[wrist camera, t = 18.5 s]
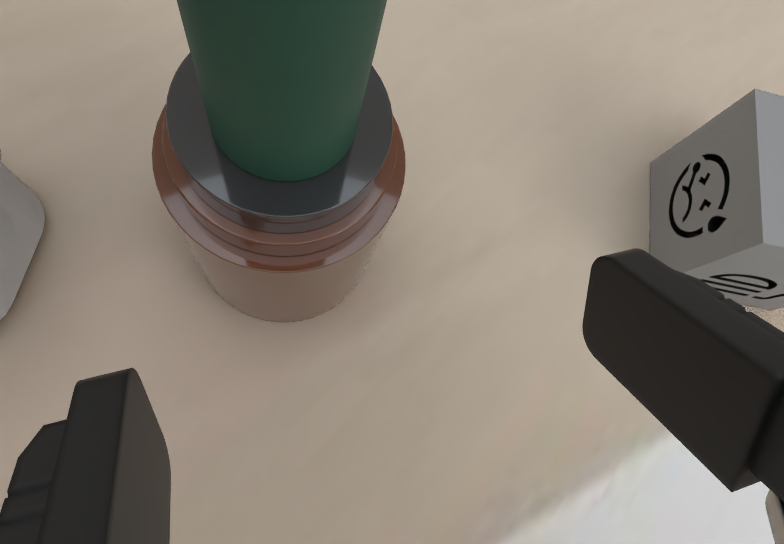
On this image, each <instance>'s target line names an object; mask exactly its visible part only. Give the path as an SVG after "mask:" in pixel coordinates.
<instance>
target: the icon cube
mask: <svg viewBox="0 0 784 544" xmlns="http://www.w3.org/2000/svg"><path fill="white" fill-rule="evenodd" d="M650 255H652V256H653V257H655V258H656V259H658V260H659V261H661V262H662V263H664V264H666V265H667V266H669V267H670V268H672V269H673V270H676V271H679V272H682V273H684V274H687V275H690V276H692V277H695V278H698V279H700V280H702V281H703V282H705V283H706V284H708V285H710V286H711V287H713V288H714V289H716V290H717V291H719V292H721V293H722V294H724V297H725V299H728V298H730V299H732V300H733V301H735V302H736V303H738V304H742V305H747V306H752V307H757V308H762V309H766V310H774V309H779V308H783V307H784V96H781V95H777V94H773V93H769V92H765V91H762V90H758V89H754V90H752V91H751V92H750V93H748V94H747V95H745V96H744V97H743V98H741V99H740V100H738V101H737V102H736V103H734V104H733V105H731V106H730V107H729V108H727V109H726V110H724V111H723V112H721V113H720V114H719V115H717V116H716V117H714V118H713V119H712V120H710V121H709V122H707V123H706V124H705V125H703V126H702V127H700V128H699V129H698V130H696V131H695V132H693V133H692V134H691V135H689V136H688V137H686V138H685V139H684V140H682V141H681V142H679V143H678V144H677V145H675V146H674V147H672V148H671V149H670V150H668V151H667V152H665V153H664V154H662V155H661V156H660V157H658V158H657V159H655V160H654V161H653V162H651V170H650Z"/></svg>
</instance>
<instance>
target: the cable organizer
mask: <svg viewBox="0 0 784 544" xmlns="http://www.w3.org/2000/svg"><path fill="white" fill-rule="evenodd" d="M0 160H1V150H0ZM44 223H45V215H44V210H43V206H42V204H41V202H40V200H39V198H38V197H37V195H36V194H35V193H34V192H33V191H32V190H31V189H30V188H29V187H28V186H27V185H26V184H24V183H23V182H22V181H21V180H20V179H19V178H18V177H17V176H16V175H15V174H13V173H12V172H11V171H10V170H9V169H8V168H7V167H6V166H5V165H4V164H2V163H1V162H0V320H1V319H2V318H3V317H4V316H5V315H6V313H7V312H8V310H9V309H10V307H11V305H12V303H13V301H14V299H15V297H16V294H17V292H18V290H19V287H20V285H21V283H22V280H23V278H24V275H25V273H26V271H27V268H28V266H29V264H30V261H31V259H32V256H33V254H34V252H35V249H36V247H37V245H38V242H39V240H40V238H41V235H42V232H43V229H44Z"/></svg>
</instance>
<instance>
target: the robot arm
mask: <svg viewBox="0 0 784 544" xmlns="http://www.w3.org/2000/svg"><path fill="white" fill-rule="evenodd" d="M583 335H584V339H585V342H586V345H587V347H588V349H589V350H590V352H591V353H592V355H593V356H594V357H595V358H596V359H597V360H598V361H599V362H600V363H601V364H602V365H603V366H604V367H605V368H606V369H607V370H608V371H609V372H610V373H611V374H612V375H613V376H614V377H615V378H616V379H617V380H618V381H619V382H620V383H621V384H622V385H623V386H624V387H625V388H626V389H627V390H628V391H629V392H630V393H631V394H632V395H633V396H634V397H635V398H636V399H638V400H639V401H640V402H641V403H642V404H643V405H644V406H645V407H646V408H647V409H648V410H649V411H650V412H651V413H652V414H653V415H654V416H655V417H656V418H657V419H658V420H659V421H660V422H661V423H662V424H663V425H664V426H665V427H666V428H667V429H668V430H669V431H670V432H671V433H672V434H673V435H674V436H675V437H676V438H677V439H678V440H679V441H680V442H681V443H682V444H683V445H684V446H685V447H686V448H687V449H688V450H689V451H690V452H691V453H692V454H693V455H694V456H695V457H696V458H697V459H698V460H699V461H700V462H701V463H702V464H703V465H704V466H705V467H707V468H708V469H709V470H710V471H711V472H712V473H713V474H714V475H715V476H716V477H717V478H718V479H719V480H720V481H721V482H722V483H723V484H724V485H725V486H726V487H727V488H728V489H729V490H730V491H731V492H734V491H736V490H739V489H741V488H744V487H747V486H749V485H752V484H754V483H757V482H759V481H761V482H763V483H764V484H765V485H766V486H767V487H768V488H769V489H770V490H769V492H768V494H767V497H766V502H765V504H766V510H767V514H768V518H769V522H770V526H771V530H772V534H773V537H774V541H775V544H784V332H782V331H780V330H779V329H777V328H776V327H774V326H773V325H771V324H769V323H768V322H766V321H765V320H763V319H762V318H760V317H758V316H757V315H755V314H754V313H752V312H746V311H745V308H744V307H743V306H741V305H739V304H738V303H736V302H735V301H733V300H732V299H730V298H728V299H725V297H724V294H722V293H721V292H719V291H717V290H716V289H714V288H713V287H711V286H710V285H708V284H706V283H705V282H703V281H702V280H700V279H698V278H695V277H692V276H690V275H687V274H684V273H682V272H679V271H676V270H673V269H672V268H670V267H669V266H667V265H666V264H664V263H662V262H661V261H659V260H658V259H656V258H655V257H653V256H652V255H650V254H649V253H647V252H646V251H644V250H641V249H631V250H626V251H622V252H618V253H614V254H610V255H606V256H601V257H599V258H597V259H596V260H595V261H594V263H593V265H592V268H591V273H590V279H589V286H588V292H587V299H586V305H585V312H584V318H583ZM7 492H8V498H5V500H4V503H3V506H2V509H1V512H0V544H169V539H170V495H171V470H170V461H169V455H168V450H167V446H166V442H165V439H164V436H163V434H162V431H161V429H160V426H159V424H158V421H157V419H156V416H155V414H154V411H153V409H152V406H151V404H150V401H149V399H148V396H147V394H146V391H145V389H144V386H143V384H142V381H141V379H140V377H139V375H138V373H137V371H136V370H135V369H134V368H129V369H125V370H121V371H117V372H113V373H109V374H104V375H100V376H96V377H92V378H88V379H84V380H80V381H78V382H77V383H76V385H75V388H74V392H73V396H72V400H71V404H70V408H69V412H68V416H67V420H63V421H59V422H55V423H51V424H47V425H44V426H43V427H42V428H41V429H40V431H39V432H38V433H37V434H36V436H35V437H34V438H33V440H32V441H31V442H30V443H29V445H28V446H27V447H26V448H25V450H24V451H23V452H22V454H21V455H20V456H19V457H18V460H17V463H16V466H15V469H14V472H13V475H12V478H11V481H10V485H9V488H8V491H7Z"/></svg>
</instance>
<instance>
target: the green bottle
mask: <svg viewBox="0 0 784 544" xmlns="http://www.w3.org/2000/svg"><path fill="white" fill-rule="evenodd" d="M386 2H387V0H177V3H178V7H179V11H180V14H181V18H182V22H183V26H184V30H185V33H186V37H187V41H188V45H189V49H190V52H191V56H192V60H193V64H194V68H195V72H196V75H197V79H198V83H199V87H200V91H201V94H202V98H203V102H204V106H205V110H206V114H207V117H208V121H209V125H210V129H211V132H212V134H213V137H214V139H215V141H216V143H217V144H218V146H219V148H220V149H221V150H222V151H223V153H224V154H225V155H226V156H227V157H228V158H229V159H230V160H231V161H232V162H233V163H235V164H236V165H237V166H239V167H240V168H242V169H243V170H245V171H247V172H249V173H251V174H253V175H256V176H258V177H261V178H265V179H268V180H274V181H286V182H289V181H300V180H305V179H309V178H312V177H315V176H318V175H320V174H322V173H324V172H326V171H327V170H329V169H330V168H332V167H333V166H334V165H336V164H337V163H338V162H339V161H340V160H341V159H342V158H343V157H344V156H345V154H346V153H347V151H348V150H349V148H350V146H351V144H352V142H353V140H354V136H355V133H356V129H357V125H358V120H359V116H360V112H361V108H362V103H363V99H364V95H365V91H366V86H367V82H368V78H369V74H370V70H371V65H372V61H373V57H374V53H375V48H376V44H377V40H378V36H379V31H380V27H381V23H382V19H383V14H384V10H385V6H386Z"/></svg>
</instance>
